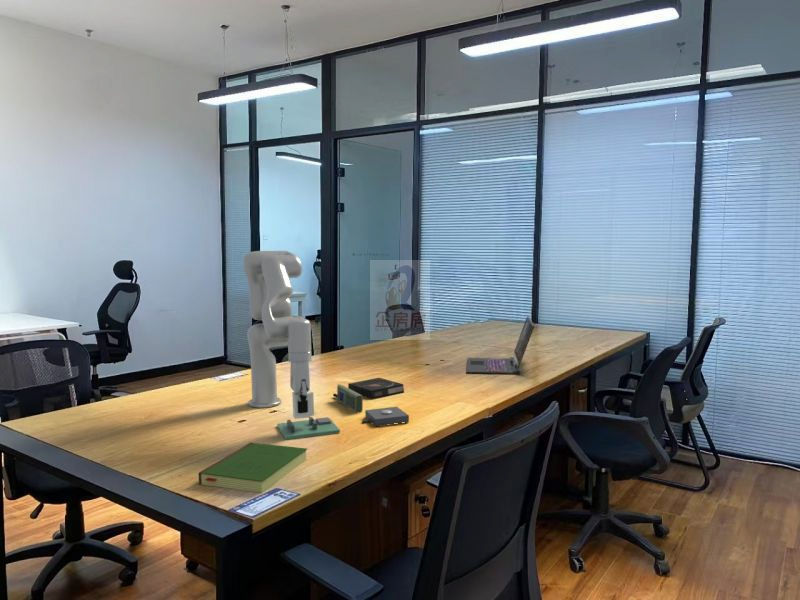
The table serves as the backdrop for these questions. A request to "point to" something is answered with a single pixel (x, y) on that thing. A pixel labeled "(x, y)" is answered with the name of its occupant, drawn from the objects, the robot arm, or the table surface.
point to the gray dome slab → (386, 416)
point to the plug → (310, 406)
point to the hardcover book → (253, 467)
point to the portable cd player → (376, 388)
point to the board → (307, 428)
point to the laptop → (502, 363)
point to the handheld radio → (349, 398)
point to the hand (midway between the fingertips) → (301, 410)
